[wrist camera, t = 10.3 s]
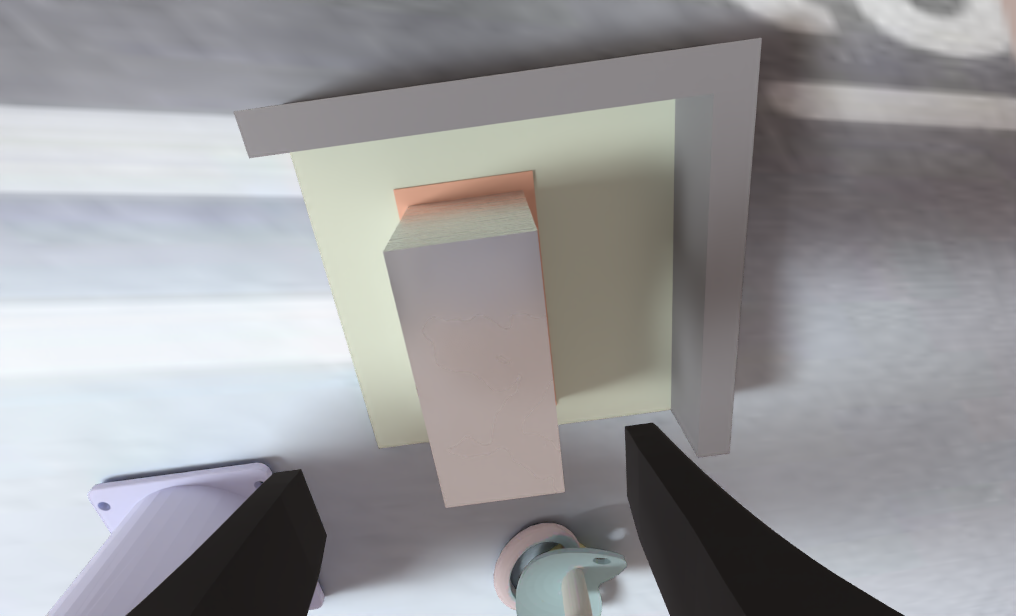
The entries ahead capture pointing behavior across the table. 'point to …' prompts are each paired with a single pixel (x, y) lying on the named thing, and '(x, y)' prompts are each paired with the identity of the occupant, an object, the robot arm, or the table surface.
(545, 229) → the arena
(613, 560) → the pacifier
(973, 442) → the table surface
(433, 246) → the aluminium bar
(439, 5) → the table surface
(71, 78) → the table surface
